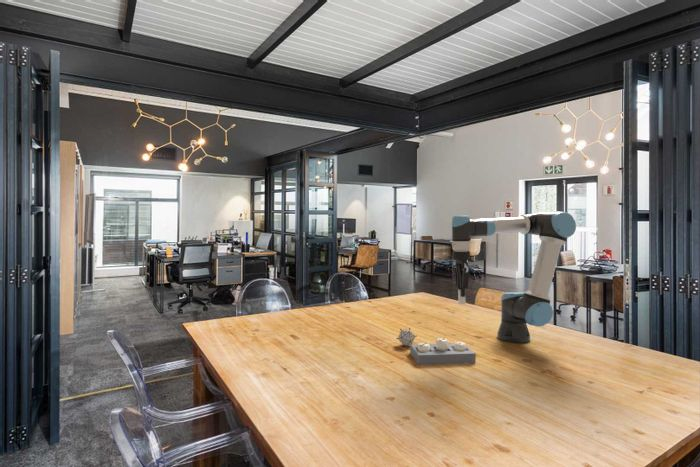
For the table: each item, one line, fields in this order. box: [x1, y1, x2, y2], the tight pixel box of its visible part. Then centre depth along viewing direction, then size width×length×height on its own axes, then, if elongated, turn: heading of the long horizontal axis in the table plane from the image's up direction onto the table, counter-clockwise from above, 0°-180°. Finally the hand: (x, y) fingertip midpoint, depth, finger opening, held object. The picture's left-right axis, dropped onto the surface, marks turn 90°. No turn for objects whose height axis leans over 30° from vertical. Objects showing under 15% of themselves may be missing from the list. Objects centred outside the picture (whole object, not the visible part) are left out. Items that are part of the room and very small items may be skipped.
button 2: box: [435, 337, 449, 351], centre depth 171 cm, size 5×5×5 cm
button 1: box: [453, 341, 467, 351], centre depth 172 cm, size 5×5×5 cm
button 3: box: [417, 342, 430, 352], centre depth 171 cm, size 5×5×5 cm
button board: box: [409, 342, 477, 366], centre depth 172 cm, size 24×14×4 cm, turn 96°
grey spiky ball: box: [396, 327, 418, 348], centre depth 188 cm, size 9×8×10 cm
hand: (461, 303), depth 178 cm, fingers closed
